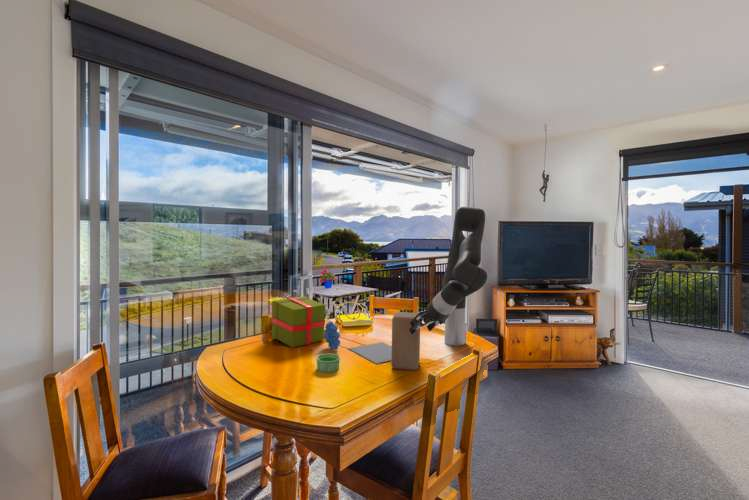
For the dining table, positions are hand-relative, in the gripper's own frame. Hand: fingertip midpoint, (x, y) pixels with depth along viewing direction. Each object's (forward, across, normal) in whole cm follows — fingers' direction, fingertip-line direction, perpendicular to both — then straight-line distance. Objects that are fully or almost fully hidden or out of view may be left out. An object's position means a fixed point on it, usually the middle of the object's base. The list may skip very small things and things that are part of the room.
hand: (419, 330), depth 136 cm
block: (+17, 0, +6) cm, 18 cm away
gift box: (+56, +24, -33) cm, 69 cm away
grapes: (+40, +16, -18) cm, 47 cm away
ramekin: (+26, +27, -4) cm, 38 cm away
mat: (+29, 0, -7) cm, 30 cm away
